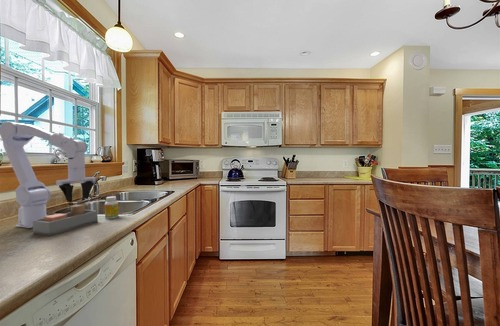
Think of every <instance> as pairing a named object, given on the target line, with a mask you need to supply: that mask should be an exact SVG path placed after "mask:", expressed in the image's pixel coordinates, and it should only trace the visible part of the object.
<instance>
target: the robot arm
mask: <svg viewBox="0 0 500 326" xmlns="http://www.w3.org/2000/svg"><path fill="white" fill-rule="evenodd" d="M35 137H36V138H40V139H43V140H46V141H47V142H48V143H49V145H51V146H53V147H55V148H57V149H61V150H63V151H64V152H65V156H66V157H67V173H68V174H67V178H66V179H58V180H55V185H56V186H58V188H59V190H61V191H62V193H63V194H64V196H65V197H64V198H65V200H66V202H67V203H73V190H74V185H75V184H80V186H81V189H82V198H83V199H84V200H88V199H89V195H90V193H91V190H92V188H93V186H94V185H95V182H96V177H95V176H89V177H86V159H85V157H86V156H85V153H86V152H87V150H88V144H87V143H86V141H84V140H82V139H79V140H77V139H75V137H73V136H67V135H65V133H64V132H54V133H53V132H50V131H48V130H45V129H43V128H41V127H38V126H37V125H33V124H29V123H26V124H25V123H21V122H20V123H19V122H13V121H9V120H7V121H3V122H2V123H1V124H0V138H1V140H2V144H3V145H2V146H3V148H4V150H5V153H6V155H7V158H8V160H9V162H10V165H11V167H12V169H13V172H14V174H15V177H16V179H17V180H18V183H19V185H18V186H17V187H16V189H15V190H14V191H15V200H16V202H17V203H18V205H20V207H19V208H18V211H17V214H18V215H17V216H18V224H15V226H16V227H20V228H27V229H30V228H32V229H33V221H34V220H38V219H43V218H44V217H46V216H47V203H48V201H49V200H50V198H51V191H50V189H49V188H48V187H46V185H45V183H43V182H42V181H40V180H38V179H37V176H36V174H35V172H34V170H33V167H32V165H31V162H30V160H29V157H28V155H27V153H26V150H25V148H24V147H25V145H28V143H30V141H31V140H33V139H34V138H35Z"/></svg>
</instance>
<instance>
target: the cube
mask: <svg viewBox="0 0 500 326" xmlns="http://www.w3.org/2000/svg"><path fill="white" fill-rule="evenodd" d="M64 218H67V214H65V213H54V214H51V215H46V217H44V221H45V222H52V221H56V220H60V219H64Z"/></svg>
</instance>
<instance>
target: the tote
mask: <svg viewBox="0 0 500 326" xmlns="http://www.w3.org/2000/svg"><path fill="white" fill-rule="evenodd" d="M64 214H67V218H64V219H60V220H56V221H52V222H45V221H44V218H43V219H38V220H34V221H33V227H32V229H33V231H32V232H33V235H38V236H39V235H40V236H46V237H51V236H56V235H58V234H62V233H65V232H68V231H72V230H75V229H79V228H82V227H85V226H88V225H92V224H95V223H98V216H99V215H98V210H93V209H85V214H81V215H76V216H72V217H71V211H70V212H66V213H64Z"/></svg>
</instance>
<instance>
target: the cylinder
mask: <svg viewBox="0 0 500 326" xmlns="http://www.w3.org/2000/svg"><path fill="white" fill-rule="evenodd" d="M85 210H86V204H75V205H71V206H70V212H71V217H72V216H76V215H81V214H85Z"/></svg>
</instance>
